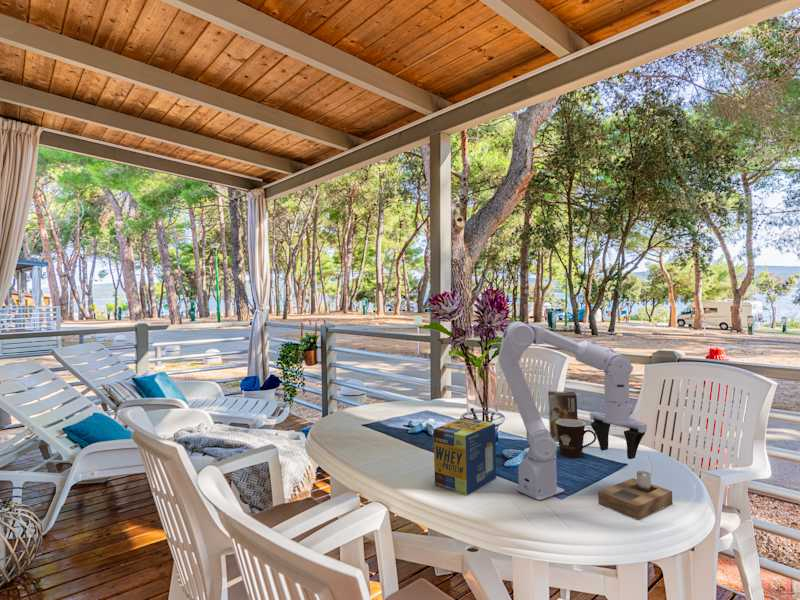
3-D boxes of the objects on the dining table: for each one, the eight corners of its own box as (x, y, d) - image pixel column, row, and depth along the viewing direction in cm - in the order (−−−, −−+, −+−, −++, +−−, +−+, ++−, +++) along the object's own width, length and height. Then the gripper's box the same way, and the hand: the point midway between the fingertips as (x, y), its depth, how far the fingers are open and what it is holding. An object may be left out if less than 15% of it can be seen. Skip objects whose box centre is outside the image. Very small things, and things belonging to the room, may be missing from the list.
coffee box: (576, 437, 168) (575, 391, 167) (578, 442, 161) (577, 395, 161) (549, 435, 170) (548, 390, 170) (550, 441, 164) (549, 394, 163)
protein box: (434, 486, 129) (432, 428, 128) (466, 469, 140) (464, 416, 140) (466, 496, 122) (465, 435, 122) (497, 477, 133) (496, 422, 133)
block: (638, 519, 107) (637, 506, 107) (598, 503, 115) (598, 491, 115) (672, 503, 114) (672, 491, 114) (632, 489, 123) (632, 478, 123)
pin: (647, 501, 115) (646, 476, 115) (634, 497, 117) (634, 473, 117) (653, 498, 116) (653, 473, 116) (641, 494, 119) (640, 470, 119)
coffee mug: (550, 452, 153) (549, 421, 153) (572, 448, 156) (571, 417, 156) (576, 464, 142) (575, 430, 142) (599, 459, 145) (598, 426, 145)
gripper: (653, 403, 117) (654, 458, 117) (601, 393, 130) (602, 443, 130) (636, 407, 113) (637, 464, 114) (584, 397, 126) (585, 448, 126)
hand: (617, 453), depth 121 cm, fingers open, 7 cm apart
